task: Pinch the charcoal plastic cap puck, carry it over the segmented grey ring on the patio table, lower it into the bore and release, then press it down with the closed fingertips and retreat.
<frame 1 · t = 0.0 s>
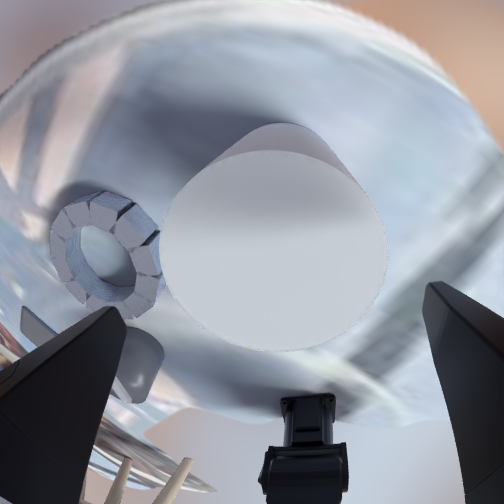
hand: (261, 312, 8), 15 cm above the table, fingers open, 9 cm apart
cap: (140, 346, 32), on the table
segmented grey ring: (111, 252, 26), on the table
grey cylinder: (282, 179, 21), on the table
smartphone: (60, 346, 36), on the table
planter: (135, 445, 49), on the table
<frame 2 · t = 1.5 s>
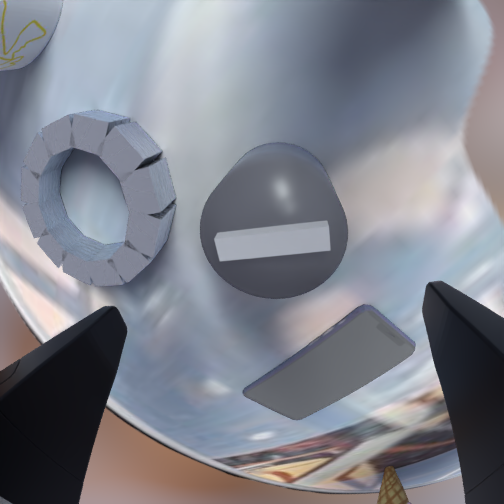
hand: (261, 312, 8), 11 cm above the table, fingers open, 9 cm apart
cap: (279, 193, 17), on the table
segmented grey ring: (98, 194, 19), on the table
grey cylinder: (28, 22, 12), on the table
ice cream cone: (391, 465, 35), on the table
smartphone: (325, 368, 25), on the table
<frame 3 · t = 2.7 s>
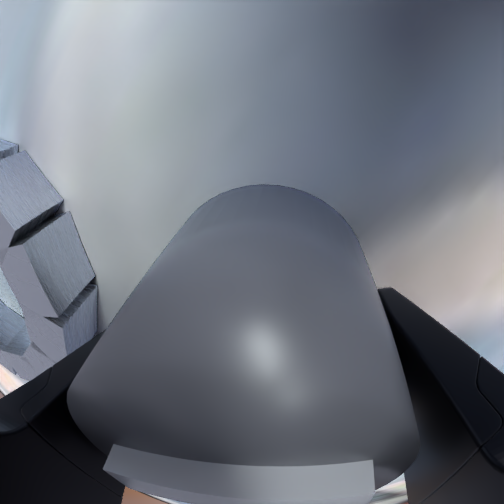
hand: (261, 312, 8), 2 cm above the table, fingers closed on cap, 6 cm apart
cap: (266, 280, 9), on the table, touching gripper
segmented grey ring: (5, 258, 11), on the table
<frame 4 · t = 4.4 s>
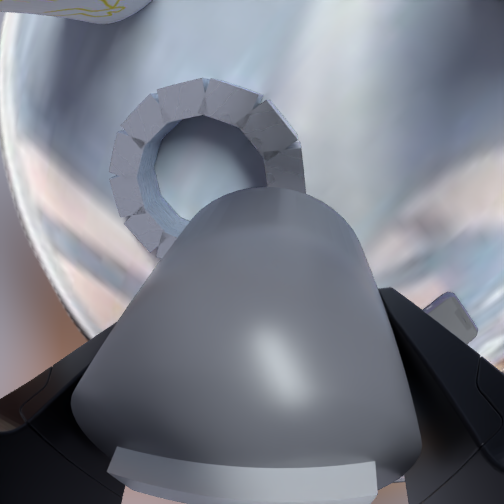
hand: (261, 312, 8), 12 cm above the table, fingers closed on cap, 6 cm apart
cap: (268, 282, 9), point 10 cm above the table, touching gripper
segmented grey ring: (210, 172, 19), on the table
smartphone: (400, 353, 25), on the table
when the fingers open (3 cm above the table, at t = 6.3 s): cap drops 2 cm, resting in segmented grey ring.
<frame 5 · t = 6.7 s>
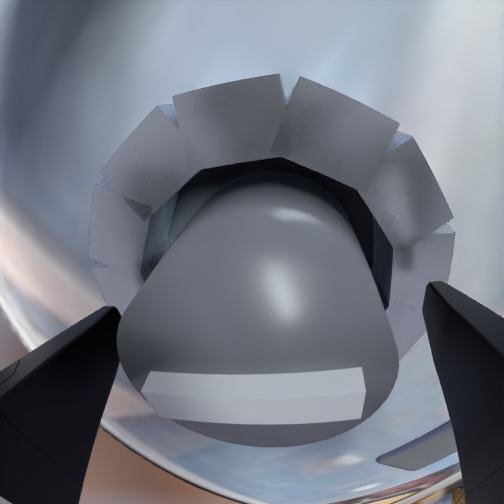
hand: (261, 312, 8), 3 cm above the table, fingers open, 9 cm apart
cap: (272, 251, 11), resting in segmented grey ring
segmented grey ring: (270, 250, 11), on the table
ice cream cone: (459, 487, 27), on the table
smartphone: (465, 422, 17), on the table
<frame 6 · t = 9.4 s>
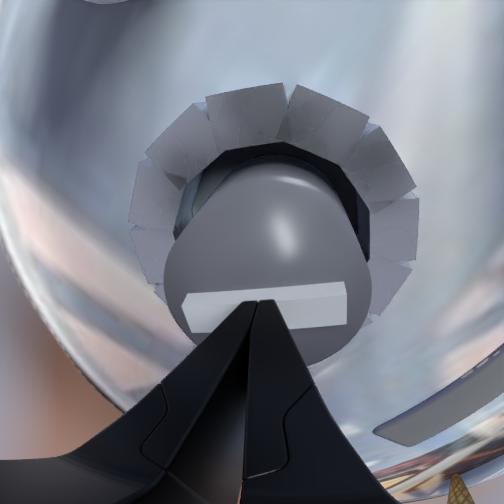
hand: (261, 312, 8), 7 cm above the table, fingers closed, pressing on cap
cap: (276, 220, 14), resting in segmented grey ring, touching gripper
segmented grey ring: (274, 219, 14), on the table
ice cream cone: (456, 473, 30), on the table
smartphone: (456, 396, 20), on the table
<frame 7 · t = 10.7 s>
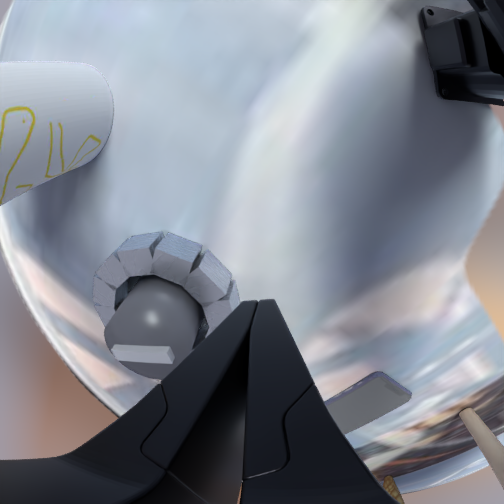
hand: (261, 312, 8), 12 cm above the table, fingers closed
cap: (170, 298, 24), resting in segmented grey ring
segmented grey ring: (169, 298, 24), on the table
grey cylinder: (71, 115, 18), on the table
ice cream cone: (389, 475, 40), on the table
smartphone: (342, 410, 30), on the table
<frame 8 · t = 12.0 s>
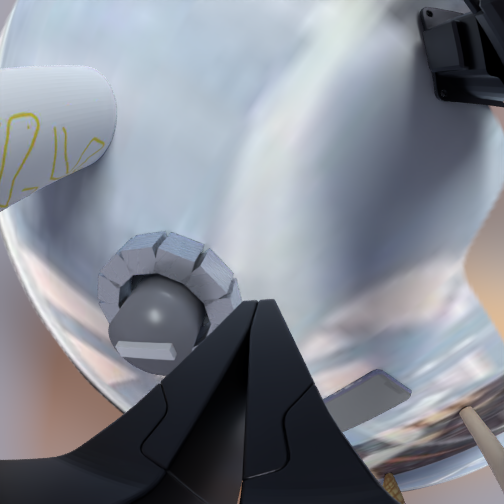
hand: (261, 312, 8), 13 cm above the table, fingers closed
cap: (173, 296, 24), resting in segmented grey ring
segmented grey ring: (172, 296, 24), on the table
grey cylinder: (75, 117, 18), on the table
ice cream cone: (390, 472, 40), on the table
smartphone: (342, 407, 30), on the table
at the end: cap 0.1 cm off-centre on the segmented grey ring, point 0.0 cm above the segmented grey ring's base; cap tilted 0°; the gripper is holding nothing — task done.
